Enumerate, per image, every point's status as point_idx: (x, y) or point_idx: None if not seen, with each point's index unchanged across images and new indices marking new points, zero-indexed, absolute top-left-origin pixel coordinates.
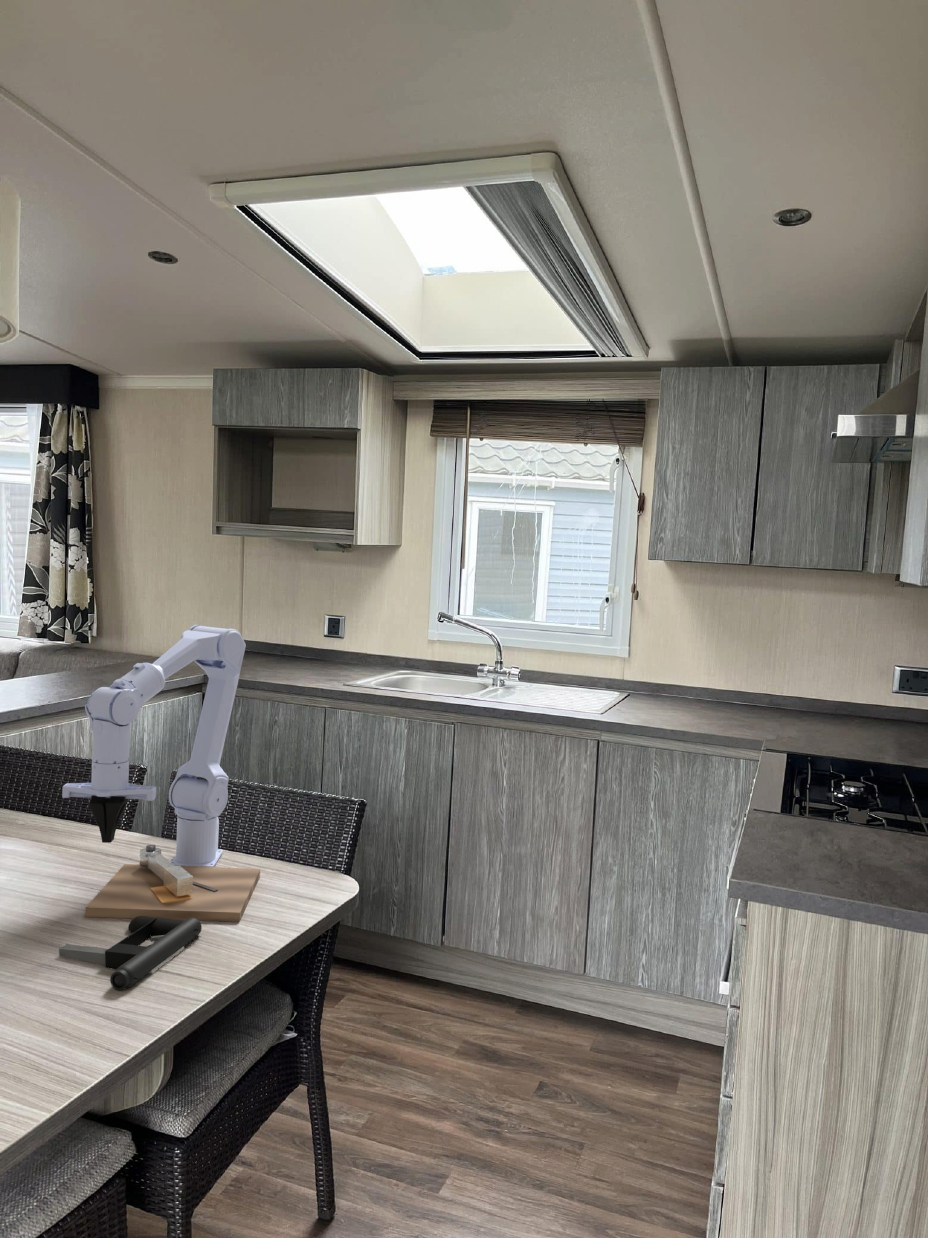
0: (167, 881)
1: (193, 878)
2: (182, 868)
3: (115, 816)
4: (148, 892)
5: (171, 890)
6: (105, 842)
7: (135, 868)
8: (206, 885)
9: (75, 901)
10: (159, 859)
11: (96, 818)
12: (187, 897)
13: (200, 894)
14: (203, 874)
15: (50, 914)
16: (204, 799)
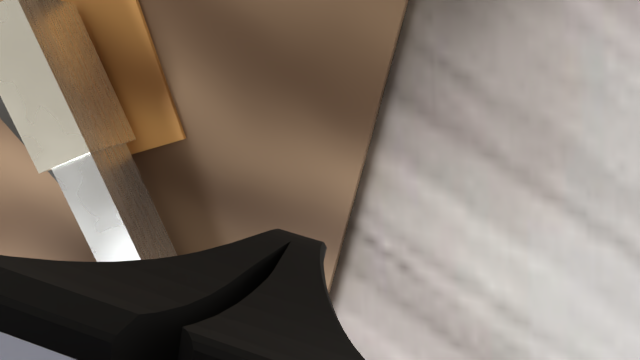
0: (101, 104)
1: (62, 215)
2: (20, 133)
3: (124, 264)
4: (188, 103)
5: (96, 59)
6: (304, 236)
7: None
8: (14, 140)
9: (459, 147)
10: None
11: (330, 317)
12: None
13: None
14: (38, 246)
15: (556, 20)
16: None
